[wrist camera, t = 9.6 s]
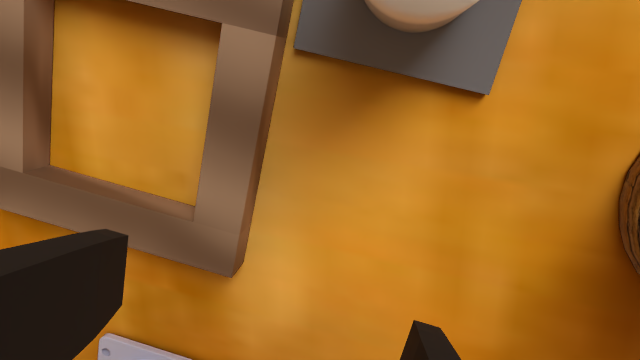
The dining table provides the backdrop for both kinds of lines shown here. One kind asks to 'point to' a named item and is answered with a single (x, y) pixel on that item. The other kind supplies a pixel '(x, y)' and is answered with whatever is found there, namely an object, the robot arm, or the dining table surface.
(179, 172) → the dining table surface
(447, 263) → the dining table surface
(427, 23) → the jug
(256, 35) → the jug holder
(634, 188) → the wooden mug
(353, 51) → the mat
